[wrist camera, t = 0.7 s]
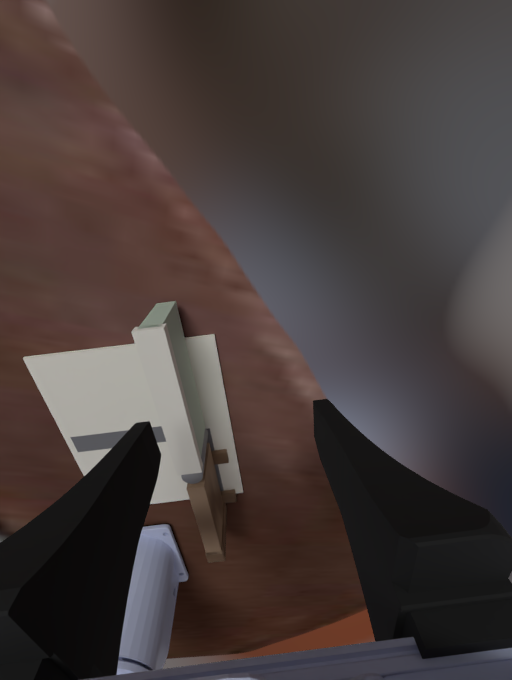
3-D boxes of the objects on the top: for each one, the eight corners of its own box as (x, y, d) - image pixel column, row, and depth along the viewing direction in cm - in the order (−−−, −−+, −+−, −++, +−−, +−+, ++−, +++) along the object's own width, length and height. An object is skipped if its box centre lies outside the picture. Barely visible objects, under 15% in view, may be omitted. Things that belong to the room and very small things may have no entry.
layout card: (243, 490, 27) (243, 492, 27) (102, 507, 27) (101, 510, 27) (214, 334, 20) (214, 335, 20) (24, 356, 20) (22, 358, 20)
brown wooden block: (238, 507, 28) (238, 559, 24) (200, 512, 28) (194, 564, 24) (224, 437, 24) (221, 484, 20) (180, 442, 24) (168, 490, 20)
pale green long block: (210, 438, 23) (205, 486, 20) (190, 440, 23) (181, 489, 19) (179, 300, 18) (163, 328, 14) (153, 303, 18) (131, 332, 14)
